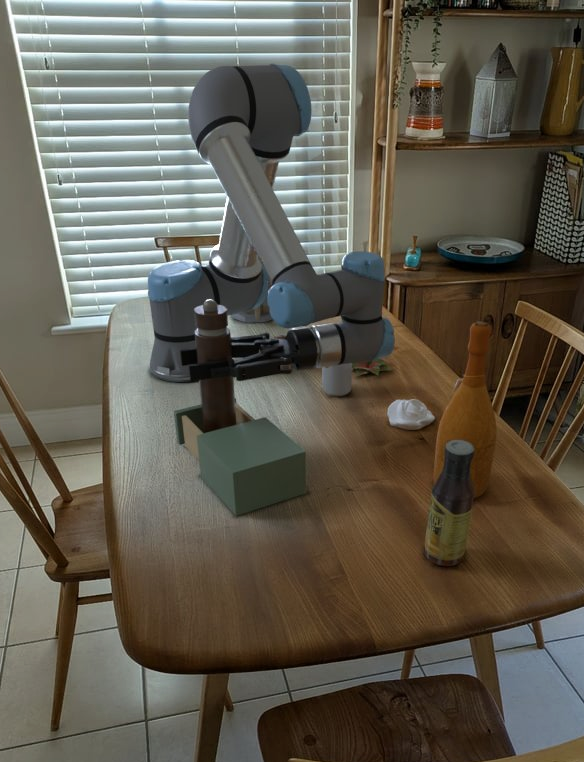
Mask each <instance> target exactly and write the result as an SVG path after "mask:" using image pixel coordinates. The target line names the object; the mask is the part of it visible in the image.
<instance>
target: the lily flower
mask: <svg viewBox="0 0 584 762" xmlns="http://www.w3.org/2000/svg"><path fill="white" fill-rule="evenodd" d="M389 363H391V362H390V361H387V360H385V359H383V358H381V359H376V360H372V361H367V362H366V361H363V362H355V363H352V369H355V370H354V372H355V374H356V375H357V377H359V376H361V375H365V374H368V373H370V372H371V373H372V374H374V375H376V376H377V377H379V373H380V372H381V371H393V369H392V368H391V367H389V365H385V364H389Z"/></svg>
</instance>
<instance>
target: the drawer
mask: <svg viewBox="0 0 584 762" xmlns="http://www.w3.org/2000/svg"><path fill="white" fill-rule="evenodd" d="M235 410H236V425H238V424H241V423H245V422H249V421H253V420H256V419H255V418H254V417H253V416H252V415H251V414H250V413H249V412H247V411H246V410H245V409H244V408H243V407H242V406H240V404H238V403H237V398H236V397H235ZM173 418H174V426H175V434H176V442H177V444H178V445H179V446H181V445H184V447H185V448H186V449H187V450H188V451H189V452H190V453H191V454H192V455H193V456H194V458H195V459H196V460H197V461H198V462H199V454H198V444H197V435H200V434H204V427H203V417H202V406H201V403H200V404H196V405H193V406H190V407H183V408H180V409H177V410H173Z"/></svg>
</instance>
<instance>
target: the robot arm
mask: <svg viewBox="0 0 584 762" xmlns="http://www.w3.org/2000/svg"><path fill="white" fill-rule="evenodd" d="M187 109H188V111H187V119H188V121H187V122H188V126H189V127H188V129H189V133H190V137H191V140H192V142H193V146H194V147H195V149H196V152H197V153H198V155H199V157H200V159H201V160H202V161H203V162H204V163H206V164H208V165H210V166H211V168H212V170H213V171H214V174H215V175H216V177H217V179H218V181H219V183H220V185H221V187H222V189H223V191H224V193H225V196H226V202H225V208H224V215H223V219H222V225H221V231H220V235H219V242H218V244H217V245H215V246H214V247H213V248H212V249H211V250H210V254H209V257H208V258H209V259H208V263H207V264H203V265H201V264H200V263H199V262H197V261H195V260H192V259H182V260H171V261H168V262H163V263H162V264H159V265H157V266H156V267H154V268H153V269H151V271H150V272H149V273H148V277H147V296H148V299H149V300H148V301H149V305H150V307H149V308H150V314H151V321H152V328H153V336H154V340H153V345H152V350H151V354H150V359H149V367H150V368H149V369H150V373H151V375H152V376H154V377H155V378H157V379H159V380H161V381H164V382H165V381H166V382H171V383H172V382H173V383H188V382H197V381H199V380H204V379H211V378H218V377H225V376H229V375H230V377H233V378H236V379H235V380H236V381H237V382H243V381H250V380H254V379H259V378H267V377H271V376H277V375H290V374H292V373H293V371H295V372H302V371H307V370H309V371H310V370H314V368H317V369H320V368H321V369H322V367H324V368H328V367H329V366H334V365H341V364H348V363H355V362H363V361H366V362H367V361H372V360H376V359H383V358H387V357H389V356H390V355H391V354H392V353H393V351H394V349H395V344H396V343H395V342H396V337H395V330H394V326H393V324H392V322H391V320H389V318H387V317H383V303H384V290H385V283H386V278H385V273H386V270H385V269H386V268H385V260H384V258H383V257H382V256H381V255H380V254H377V253H375V252H372V251H365V250H364V251H350V252H348V253H347V254H345V255H343V257H342V260H341V265H340V268H341V269H337V270H333V271H330V272H324V273H320V274H317V272H316V270H315V268H314V267H313V265H312V263H311V261H310V259H309V257H308V255H307V253H306V251H305V249H304V248H303V245H302V243H301V242H300V240H299V238H298V236H297V234H296V232H295V230H294V228H293V226H292V224H291V221H290V220H289V218H288V216H287V214H286V212H285V210H284V209H283V206H282V205H281V202H280V201H279V199H278V197H277V195H276V193H275V191H274V186H275V181H276V177H277V172H278V168H279V163H280V161H281V160H282V159H284V158H286V157H287V156H289V154H290V151H291V147H292V145H293V144H292V143H293V139H294V137H301V136H302V135H303V134H304V133H306V132H307V131H308V129H309V127H310V125H311V121H312V112H313V111H312V99H311V96H310V92H309V88H308V85H307V83H306V81H305V79H304V77H303V76H302V75H301V73H300V72H299V71H298V70H297V69H296V68H294V67H293V66H291V65H287V64H275V63H269V64H261V65H260V64H259V65H221V66H217V67H214V68H212V69H210V70H208V71H206V72H205V73H204V74H203V75H202V76H201V77H200V78H199V79H198V81H197V82H196V84H195V86H194V87H193V89H192V92H191V94H190V99H189V102H188V108H187ZM267 277H269V279H270V281H271V283H272V285H273V286H272V287H271V289H270V290H269V292H268V281H267V280H266V279H267ZM267 292H268V299H267V302H268V306H269V307H270V315H271V317H272V320H273V321H274V323H275V324H276V325H278V327H280V328H283V329H288V330H287V332H286V334H285V335H286V337H285V338H284V339H278V338H273V337H270V333H269V332H263V333H258V334H253V335H243V336H234V337H232V336H231V348H232V358H229V365H228V361H227V360H219V361H212V362H205V363H197V353H196V343H195V330H196V329H198V328H197V327H196V323H195V312H194V310H195V308H196V307H198V306H201V305H204V303H205V301H207V300H214V301H215V302H216V303H217V305H222V306H225V307H226V308H227V315H228V316H231V315H233V314H237V313H244V312H247V311H249V310H251V309H255V308H257V307H259V306H260V305H261V304H262V303H263V301H264V300H265V298H266V295H267ZM338 317H340V322H334V323H325V324H316V325H311V324H315V323H318V322H321V321H325V320H328V319H333V318H338ZM309 325H311V326H310V327H308V326H309ZM259 350H260V353H259Z"/></svg>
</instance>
